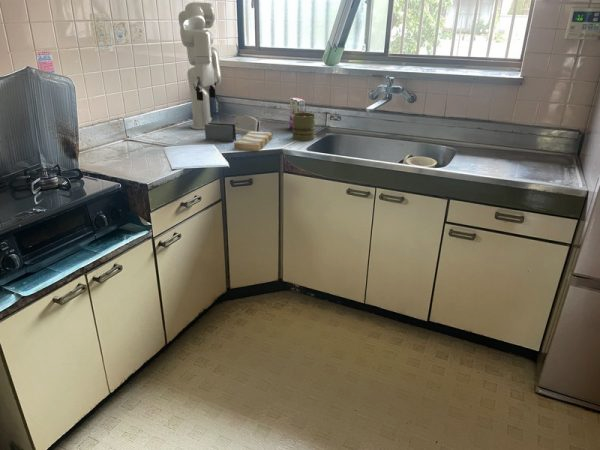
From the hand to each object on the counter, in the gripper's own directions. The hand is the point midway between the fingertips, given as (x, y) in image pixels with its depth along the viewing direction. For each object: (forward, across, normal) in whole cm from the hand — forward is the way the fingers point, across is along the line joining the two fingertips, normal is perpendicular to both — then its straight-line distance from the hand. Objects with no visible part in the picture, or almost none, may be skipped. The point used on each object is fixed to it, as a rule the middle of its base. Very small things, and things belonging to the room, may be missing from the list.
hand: (206, 98), depth 210 cm
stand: (+21, -8, +21) cm, 30 cm away
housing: (+21, -6, +3) cm, 22 cm away
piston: (+21, -29, +37) cm, 52 cm away
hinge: (+21, -26, +5) cm, 34 cm away
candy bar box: (+21, -45, +26) cm, 56 cm away
